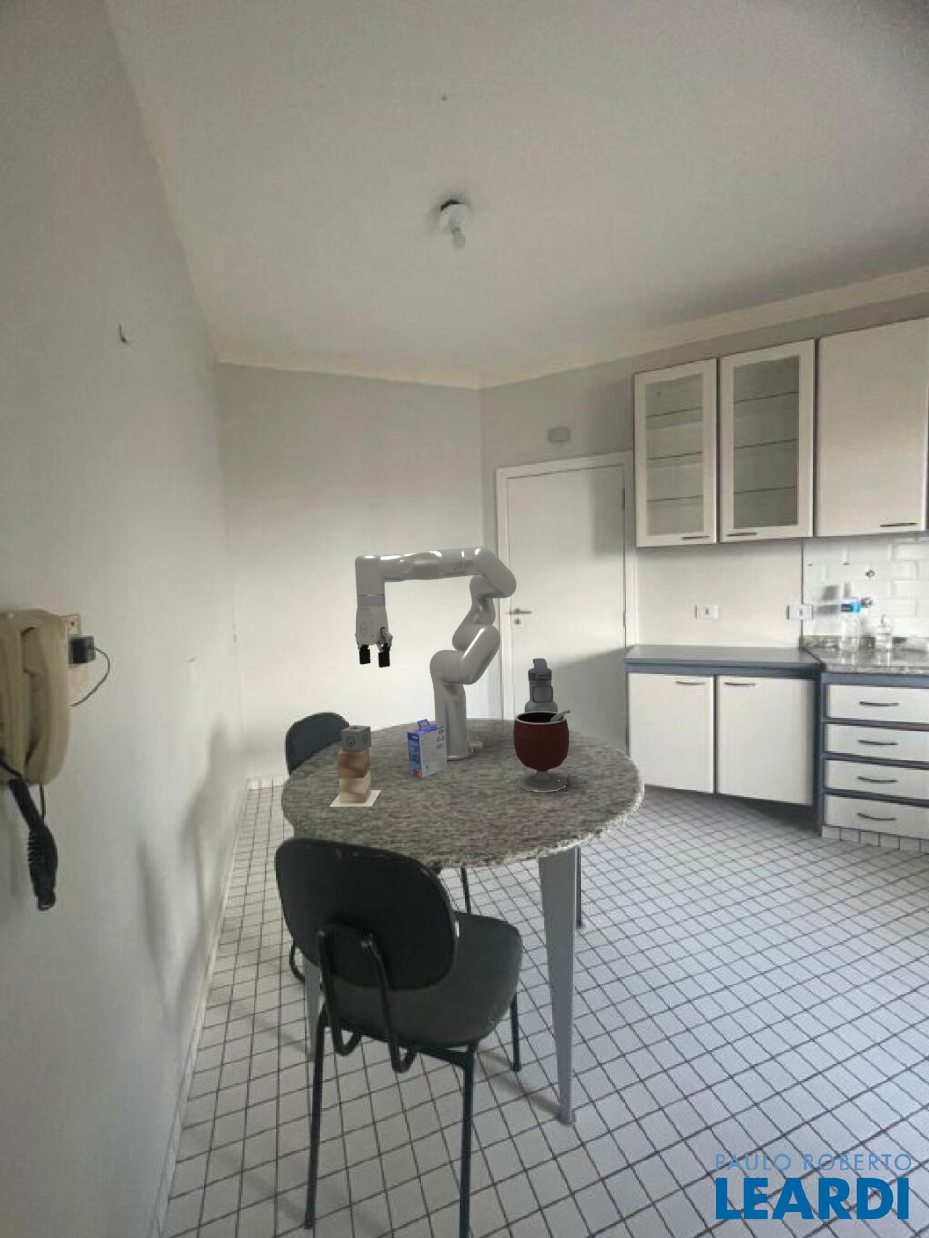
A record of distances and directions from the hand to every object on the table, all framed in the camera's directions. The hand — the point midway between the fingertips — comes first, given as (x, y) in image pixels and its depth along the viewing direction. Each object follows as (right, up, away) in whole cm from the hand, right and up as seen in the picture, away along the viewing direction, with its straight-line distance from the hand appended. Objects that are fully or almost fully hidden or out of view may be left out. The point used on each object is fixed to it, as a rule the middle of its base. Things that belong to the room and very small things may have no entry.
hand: (374, 665), depth 148 cm
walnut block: (-2, -25, -15) cm, 29 cm away
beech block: (-2, -31, -15) cm, 34 cm away
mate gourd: (+45, -29, -9) cm, 54 cm away
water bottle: (+47, -28, +15) cm, 57 cm away
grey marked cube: (-2, -19, -15) cm, 24 cm away
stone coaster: (-2, -31, -15) cm, 35 cm away
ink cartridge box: (+14, -30, +3) cm, 33 cm away
